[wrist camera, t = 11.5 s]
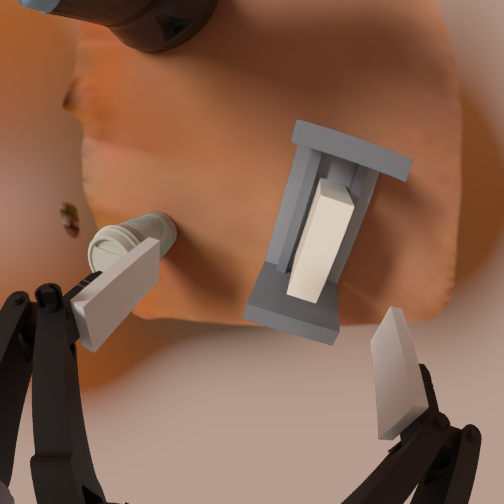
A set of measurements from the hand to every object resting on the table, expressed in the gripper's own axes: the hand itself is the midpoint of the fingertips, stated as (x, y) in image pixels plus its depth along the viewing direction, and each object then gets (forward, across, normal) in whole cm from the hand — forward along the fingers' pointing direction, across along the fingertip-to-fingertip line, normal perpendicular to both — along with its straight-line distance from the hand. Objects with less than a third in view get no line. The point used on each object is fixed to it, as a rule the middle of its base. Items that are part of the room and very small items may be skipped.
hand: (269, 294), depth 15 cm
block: (+20, +3, -2) cm, 21 cm away
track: (+22, +3, -2) cm, 22 cm away
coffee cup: (+22, -18, -10) cm, 30 cm away
